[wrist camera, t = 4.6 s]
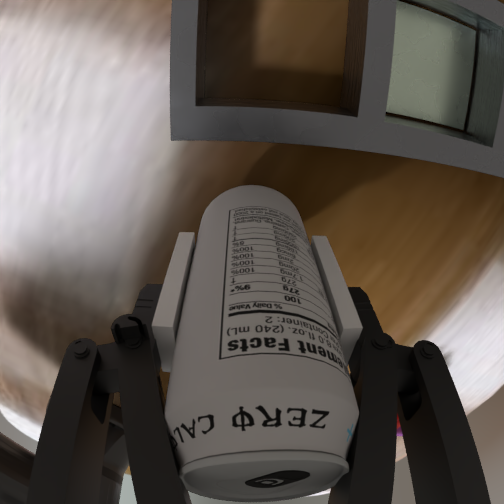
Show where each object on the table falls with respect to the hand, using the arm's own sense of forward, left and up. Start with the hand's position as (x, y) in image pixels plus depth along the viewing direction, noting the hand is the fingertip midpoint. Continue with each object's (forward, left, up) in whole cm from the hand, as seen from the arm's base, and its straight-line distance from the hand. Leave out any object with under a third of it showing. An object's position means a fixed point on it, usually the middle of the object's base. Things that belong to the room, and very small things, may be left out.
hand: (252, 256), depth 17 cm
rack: (+10, +11, -5) cm, 16 cm away
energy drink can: (0, 0, -4) cm, 4 cm away
